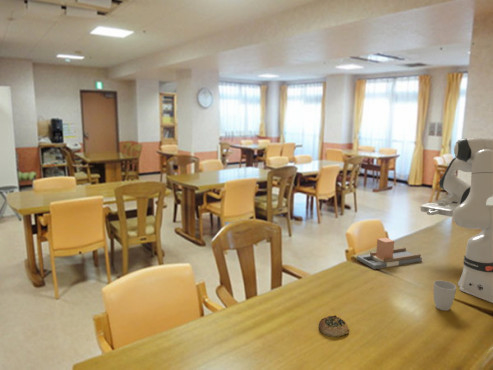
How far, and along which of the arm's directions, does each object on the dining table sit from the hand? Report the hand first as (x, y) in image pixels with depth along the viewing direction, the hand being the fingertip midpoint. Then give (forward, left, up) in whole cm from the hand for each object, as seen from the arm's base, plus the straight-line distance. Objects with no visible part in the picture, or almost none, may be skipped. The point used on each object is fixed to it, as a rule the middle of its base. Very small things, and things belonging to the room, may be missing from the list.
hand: (429, 213), depth 202 cm
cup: (-46, +39, -25) cm, 65 cm away
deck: (+2, +22, -25) cm, 33 cm away
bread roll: (-43, +90, -26) cm, 103 cm away
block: (+3, +27, -23) cm, 35 cm away
